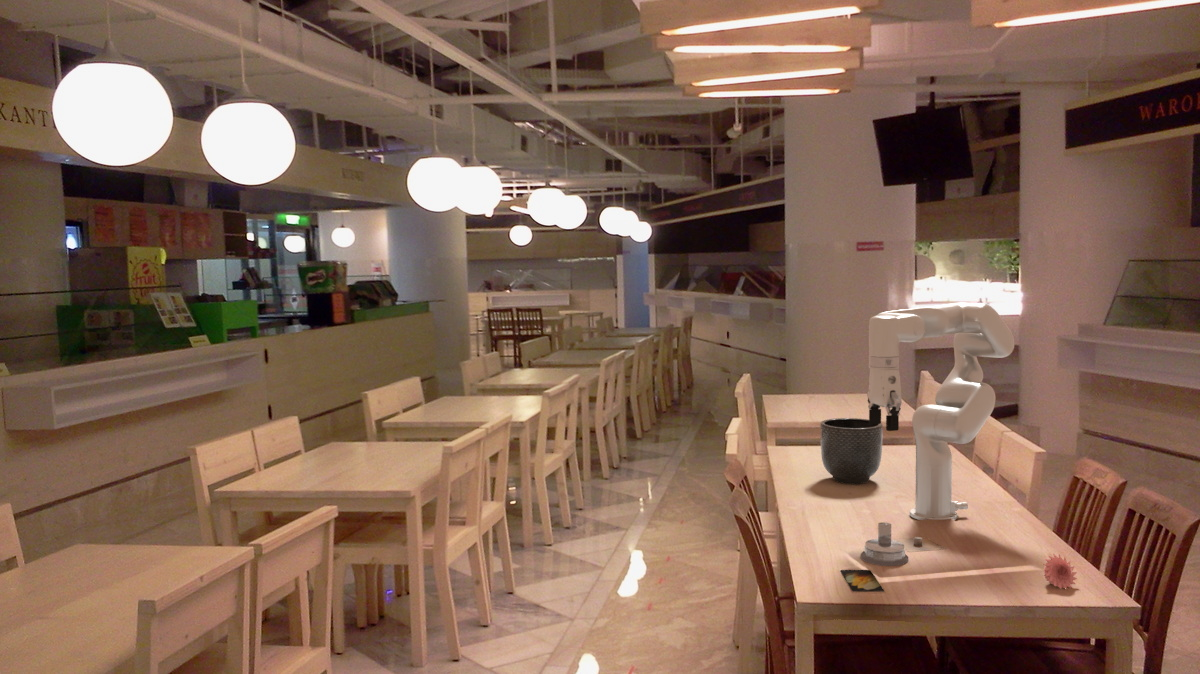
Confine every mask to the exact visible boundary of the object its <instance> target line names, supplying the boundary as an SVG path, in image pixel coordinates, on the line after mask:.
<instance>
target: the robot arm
mask: <svg viewBox="0 0 1200 674" xmlns="http://www.w3.org/2000/svg"><path fill="white" fill-rule="evenodd" d="M868 322H869V323H868V369H869V375H868V376H869V377H868V390H867V391H866V395H867V403H868V420H869V424H881V423H882V409H881V407H882V408H885V410H886V414H887V415H886V416H885V427H886V428H885V431H888V432H892V431H894V432H895V431H896V432H897V431H899V424H900V423H899V419H900V418H899V417H900V413H901V412H900V411H901V407H902V384H901V383H902V382H901V375H900V370H899V369H900V366H899V365H900V363H899V361H900V358H899V356H900V355H899V354H900V343H901V342H902V343H914V342H917V341H919V340H921V339H922V338H938V337H939V338H940V337H945V336H949V335H953V334H954V337H953V341H952V342H953V352H954V367H953V368H952V369H951V371H950V373H948V375H947V377H946V378H945V379H944V381H943V382H942V383H941V385H940V387H939V388H938V389H937V390H936V393H935V397H934V401H935V404H930V403H929V404H924V405H920V406H919V407H917V408H916V409H915V410H914V412H913V415H912V417H911V418H912V419H911V422H912V424H911V425H912V429H913V435H914V439H915V440H914V441H915V501H914V502H915V505H914V506H915V507H913V508H911V509H910V510H909V516H910V517H912V519H915V520H919V521H926V520H935V521H938V520H939V521H940V520H941V521H943V520H953V521H956V520H957V519H958V513H957V512H956V511H958V510H968V508H969V505H968V503H967V502H966V501H964V502H959V501H957V500H956V501H955V500H952V491H953V490H952V488H953V486H952V483H953V481H952V479H953V478H952V477H953V475H952V474H953V467H952V465H953V456H952V451H951V448H950V446H949V444H948V443H955V444H964V445H965V444H968V443H970V442H972V441H973V440H974V439H975V438H976V437H977V435H978V433H979V432H980V431H981V429H982V428H983V426H984V425H985V424H986V422H987V421H988V419H989V418H990V416H991V414H992V413H993V411H994V409H995V407H996V406H995V405H996V399H997V398H996V392H995V389H994V388H993V387H992V386H991V385H990V384H988V383H986V382H983V379H984V372H983V369H982V367H981V365H980V363H979V361H978V357H983V358H997V359H999V358H1000V359H1001V358H1006V357H1009V356H1010V355H1011V354H1012V353H1013V351H1014V349H1015V337H1014V335H1013V333H1012V330H1011V329H1010V328H1009V326H1008V325H1007V323H1006V322H1005V321H1004V319H1003V318H1002V317H1001V315H1000V314H999V313H998V311H997V310H995V309H994V307H993V306H991V305H990V304H987V303H983V302H982V303H981V302H978V303H977V302H952V303H947V304H941V305H940V304H939V305H934V306H925V307H916V308H906V309H898V310H890V311H889V310H888V311H884V312H879V313H878V314H876V315H874V316H871V317H870V318H869V321H868Z"/></svg>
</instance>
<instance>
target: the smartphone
mask: <svg viewBox="0 0 1200 674" xmlns="http://www.w3.org/2000/svg"><path fill="white" fill-rule="evenodd" d="M840 573H841V576H842V577H843V579H844V581H845V583H846V584H847V586H848V588H849V590H850V592H851V593H853V594H884V593H885V590H884V587H882V585H881V583H880V582H879V581H878V579H877V578H876V576H875V575H874V573H873V571H872V570H871V569H841V570H840Z"/></svg>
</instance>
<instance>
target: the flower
mask: <svg viewBox="0 0 1200 674" xmlns="http://www.w3.org/2000/svg"><path fill="white" fill-rule="evenodd" d="M1052 555H1053V556H1050V555H1048V558H1049V559H1048V558H1045V559H1044V560H1045V561H1046V563H1043V565H1044V566H1043V567H1044V568H1043V576H1044V579H1045V580H1046V581H1047V582H1048V583H1049V584H1050V585H1053V586H1054V587H1058V588H1059V589H1060V590H1063V589H1064V588H1067V589H1068V588H1071V589H1072V588H1073V586H1072V585H1076V584H1077V583H1076V582H1074V581H1076V580H1078V578H1077V577H1075V575H1076V574H1077V573H1078V572H1077V571H1073V570H1074V569H1075V566H1074V565H1073V566H1071V560H1070V561H1067V558H1066V556H1064V557H1062V556H1061V554H1059V553H1058V556H1057V555H1055V553H1052Z"/></svg>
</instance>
